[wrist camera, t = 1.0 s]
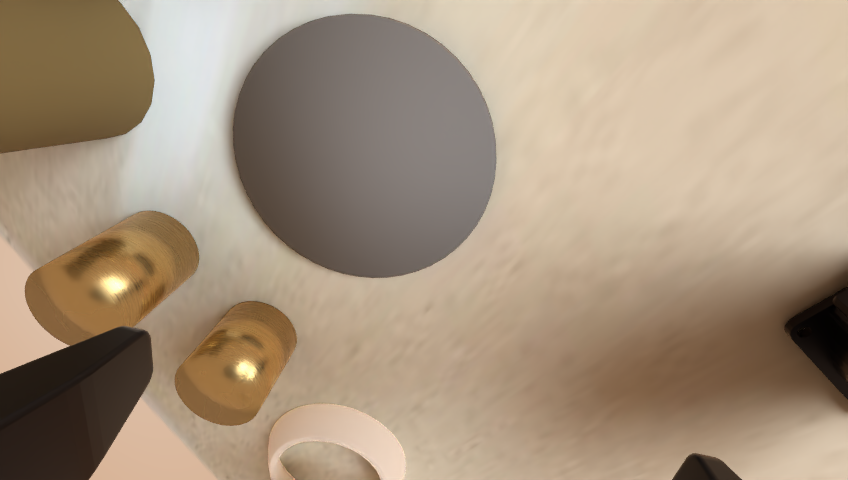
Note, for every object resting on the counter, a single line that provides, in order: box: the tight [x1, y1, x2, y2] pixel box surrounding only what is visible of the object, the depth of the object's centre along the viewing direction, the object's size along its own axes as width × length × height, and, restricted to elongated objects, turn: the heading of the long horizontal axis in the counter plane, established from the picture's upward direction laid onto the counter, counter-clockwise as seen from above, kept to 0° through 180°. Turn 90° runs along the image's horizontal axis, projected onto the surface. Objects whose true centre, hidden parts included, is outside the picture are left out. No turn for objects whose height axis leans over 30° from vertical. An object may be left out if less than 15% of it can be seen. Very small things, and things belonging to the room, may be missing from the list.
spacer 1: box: [25, 211, 199, 346], centre depth 19 cm, size 4×4×5 cm
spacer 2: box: [175, 301, 297, 426], centre depth 21 cm, size 4×4×4 cm
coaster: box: [233, 14, 496, 278], centre depth 18 cm, size 10×10×1 cm
